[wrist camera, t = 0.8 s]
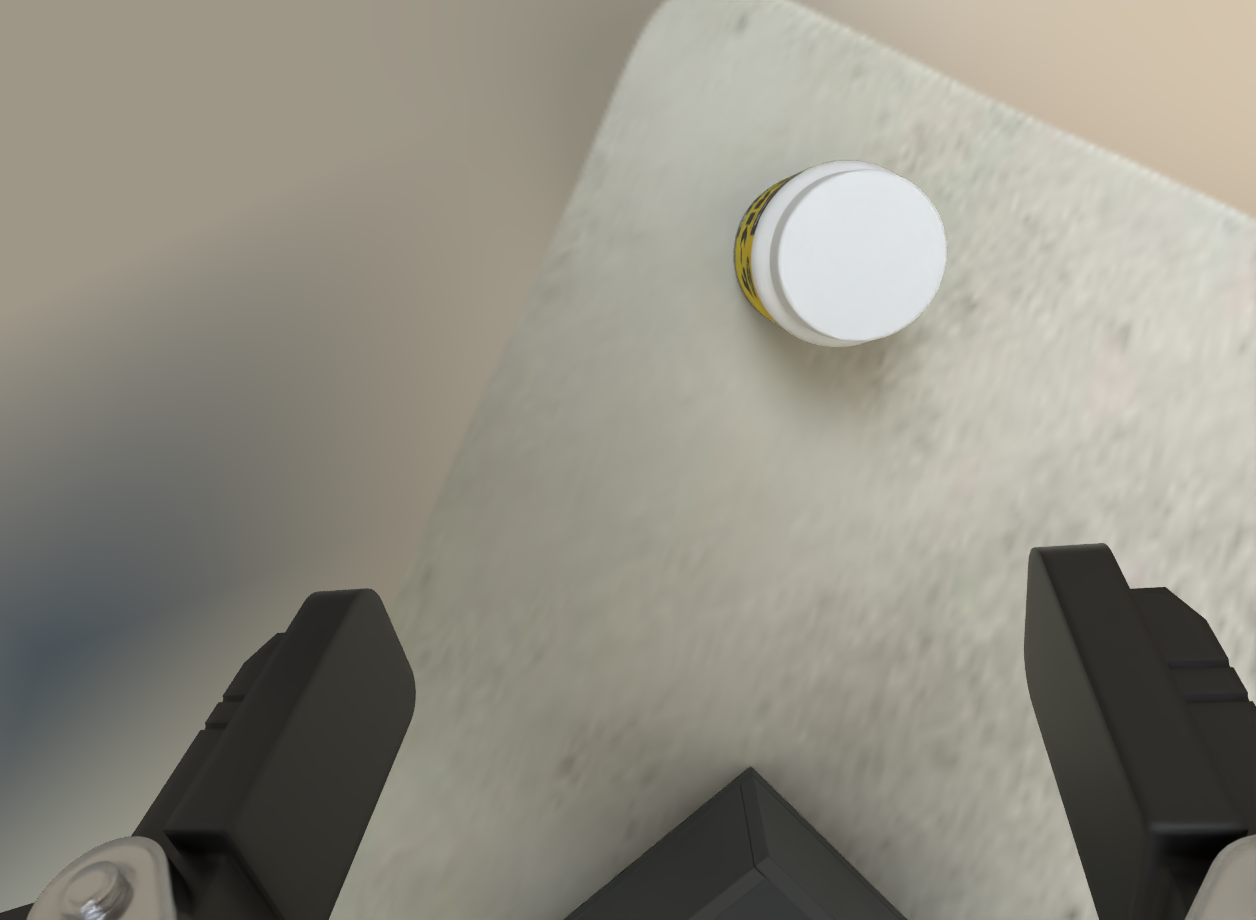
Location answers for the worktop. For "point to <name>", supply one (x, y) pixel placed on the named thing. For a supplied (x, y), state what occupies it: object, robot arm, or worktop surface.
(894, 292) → the supplement bottle
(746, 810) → the bin
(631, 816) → the worktop surface
